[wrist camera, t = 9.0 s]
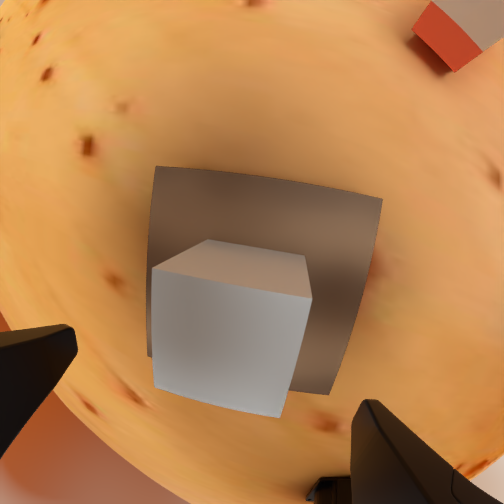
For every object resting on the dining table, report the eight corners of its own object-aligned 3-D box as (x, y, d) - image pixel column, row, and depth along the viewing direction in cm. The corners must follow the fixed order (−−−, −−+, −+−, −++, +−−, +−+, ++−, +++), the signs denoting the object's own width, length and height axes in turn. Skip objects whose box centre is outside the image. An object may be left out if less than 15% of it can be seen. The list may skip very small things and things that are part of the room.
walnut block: (324, 361, 19) (328, 395, 15) (170, 330, 20) (147, 356, 16) (363, 198, 16) (382, 199, 12) (183, 171, 18) (155, 165, 14)
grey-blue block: (286, 342, 15) (279, 417, 9) (200, 325, 15) (154, 386, 9) (304, 255, 14) (312, 298, 8) (208, 239, 14) (152, 268, 8)
